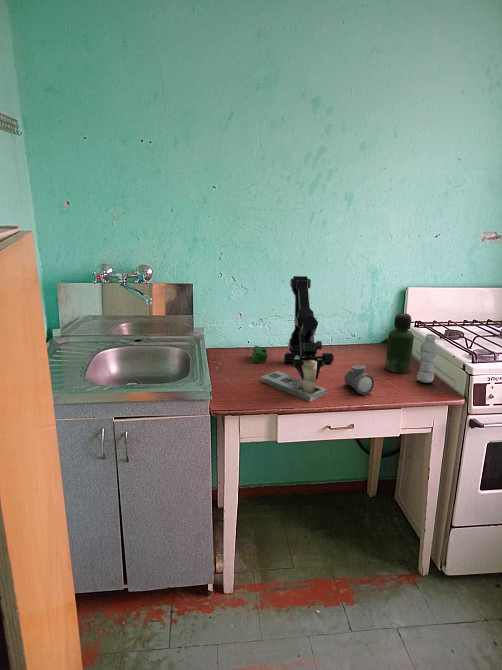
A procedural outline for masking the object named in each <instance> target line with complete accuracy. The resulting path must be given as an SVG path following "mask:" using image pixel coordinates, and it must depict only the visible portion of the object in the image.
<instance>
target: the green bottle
mask: <svg viewBox="0 0 502 670" xmlns="http://www.w3.org/2000/svg"><path fill="white" fill-rule="evenodd" d="M393 325H394V328H395V329H392V330H391V331H389V333H388V338H387V339H388V340H387V350H386V358H385V366H384V368H385V369H386V370H387V371H388V372H390V373H397V374H406V373H409V372H410V370H411V364H412V363H411V362H412V354H413V347H414V339H415V336H414V334H413V332H412V331H410V329H411V326H412V316H411V315H410V314H409V313H402V312H401V313H398V314H396V316H395V317H394V324H393Z"/></svg>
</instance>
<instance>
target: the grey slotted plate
mask: <svg viewBox="0 0 502 670" xmlns="http://www.w3.org/2000/svg"><path fill="white" fill-rule="evenodd" d="M260 382H261V383H264V384H267V385H269V386H272V387H274V388H276V389H279V390H281V391H284V392H286V393H289V394H291V395H293V396H296V397H298V398H301V399H302V400H305V401H307V402H312V401H315V400H317V399H320V398H321V397H324V396H327V395H328V389H326V388H324V387H321V386H319V385H315V392H314V393H312V394H308V393H305V392H303V391H302V382H303V380H302V378H297V377H295V376H292V375H290V374H287V373H285V372H282V371H279V370H277V371H274V372H271V373H268V374H264V375H262V376H260Z"/></svg>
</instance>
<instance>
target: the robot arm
mask: <svg viewBox="0 0 502 670" xmlns="http://www.w3.org/2000/svg"><path fill="white" fill-rule="evenodd" d="M311 281H312V279H311V278H308V276H307V275H305V276H303V275H294V276H293V277H292V278H290V281H289V282H290V283H289V284H290V288H291V292H292V294H293V295H294V329H293V331H292V332H291V333H290V338H289V341H288V351H289V352H285V353H284V355H283V365H284V366H291V367H292V368H295V370H296V371H297V373H298V374H299V376H300V379H301V380H303V379H304V378H303V364H304V361H305V360H314V361H316V362H317V370H316V381H318V379H319V375H320V372H321V368H323V367H324V366H331V365H332V363H333V362H334V357H335V356H334V354H333V353H332V352H322V354H321V355H317V353H318V350H319V351H320V350H322V349H323V343H322V340H316V341H315V337H314V336H315V334H316V331H317V329H318V325H319V322H318V320H317V318H316V317H315V315H314V311H313V310H312V309H311V306H310V295H309V290H310V289H311V283H312V282H311Z"/></svg>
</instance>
